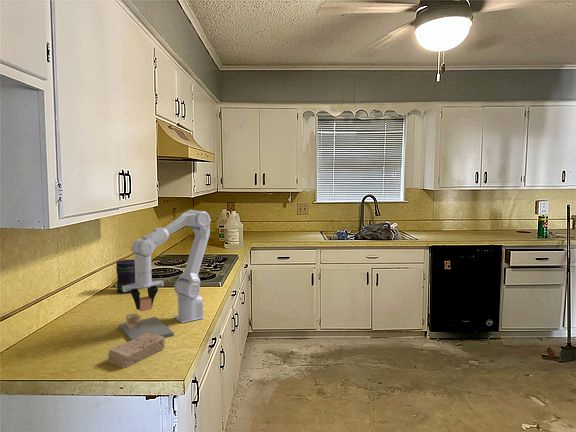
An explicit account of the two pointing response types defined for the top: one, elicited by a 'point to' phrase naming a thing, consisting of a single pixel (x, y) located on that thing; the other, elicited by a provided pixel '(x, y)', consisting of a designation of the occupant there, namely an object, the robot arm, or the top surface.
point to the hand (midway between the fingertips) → (144, 307)
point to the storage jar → (125, 274)
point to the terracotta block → (145, 303)
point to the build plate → (147, 328)
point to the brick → (136, 350)
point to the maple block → (133, 320)
